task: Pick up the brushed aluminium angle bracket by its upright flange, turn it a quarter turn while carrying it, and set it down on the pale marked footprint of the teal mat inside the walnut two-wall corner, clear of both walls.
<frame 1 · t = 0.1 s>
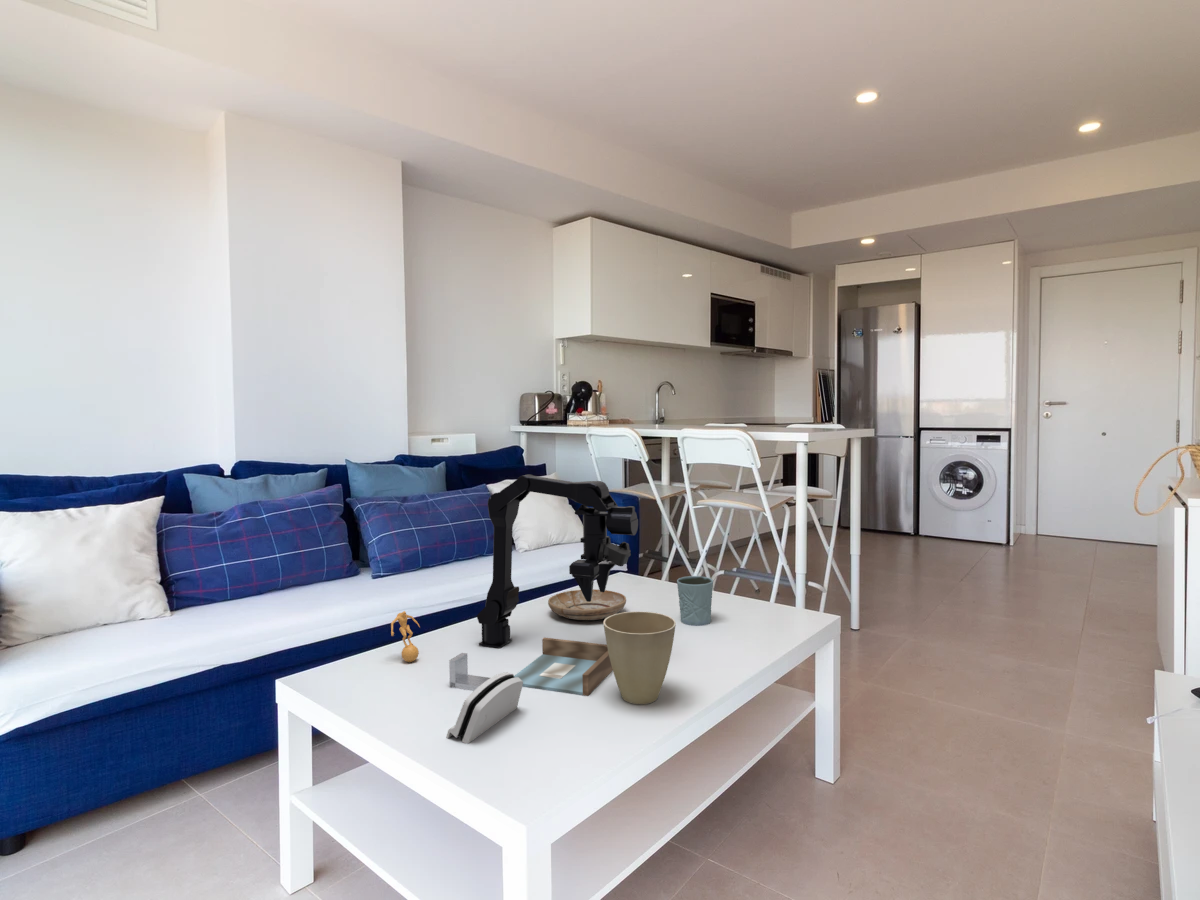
hand: (595, 596, 162), 15 cm above the table, tool pointing down, fingers open, 9 cm apart
ceramic bowl: (587, 615, 198), on the table
aluminium bracket: (471, 685, 145), on the table
plant pot: (640, 698, 137), on the table
figurine: (407, 661, 161), on the table
corner arena: (561, 674, 150), on the table
embossed green cup: (695, 622, 189), on the table
grey arched casing: (489, 725, 126), on the table
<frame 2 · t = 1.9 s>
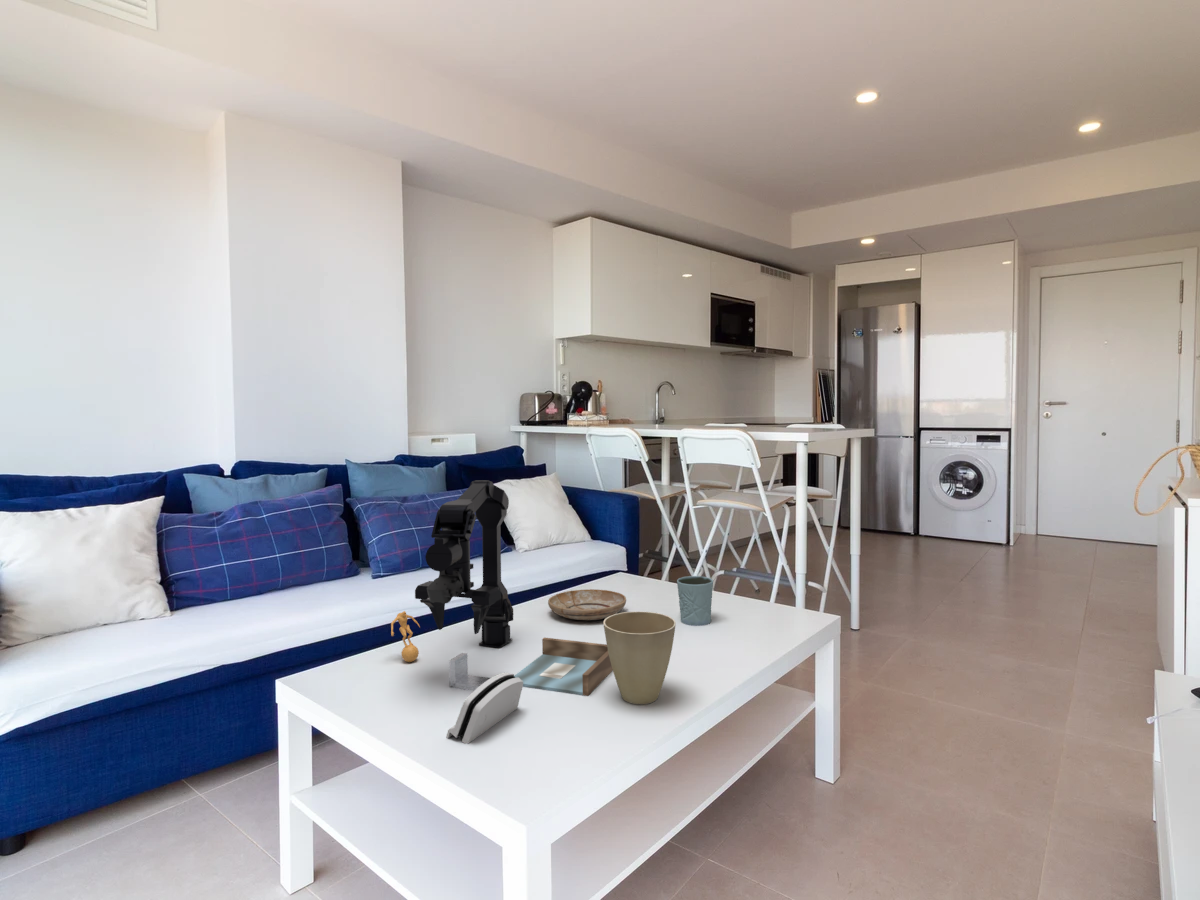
hand: (458, 631, 146), 12 cm above the table, tool pointing down, fingers open, 9 cm apart
nothing on the table moved.
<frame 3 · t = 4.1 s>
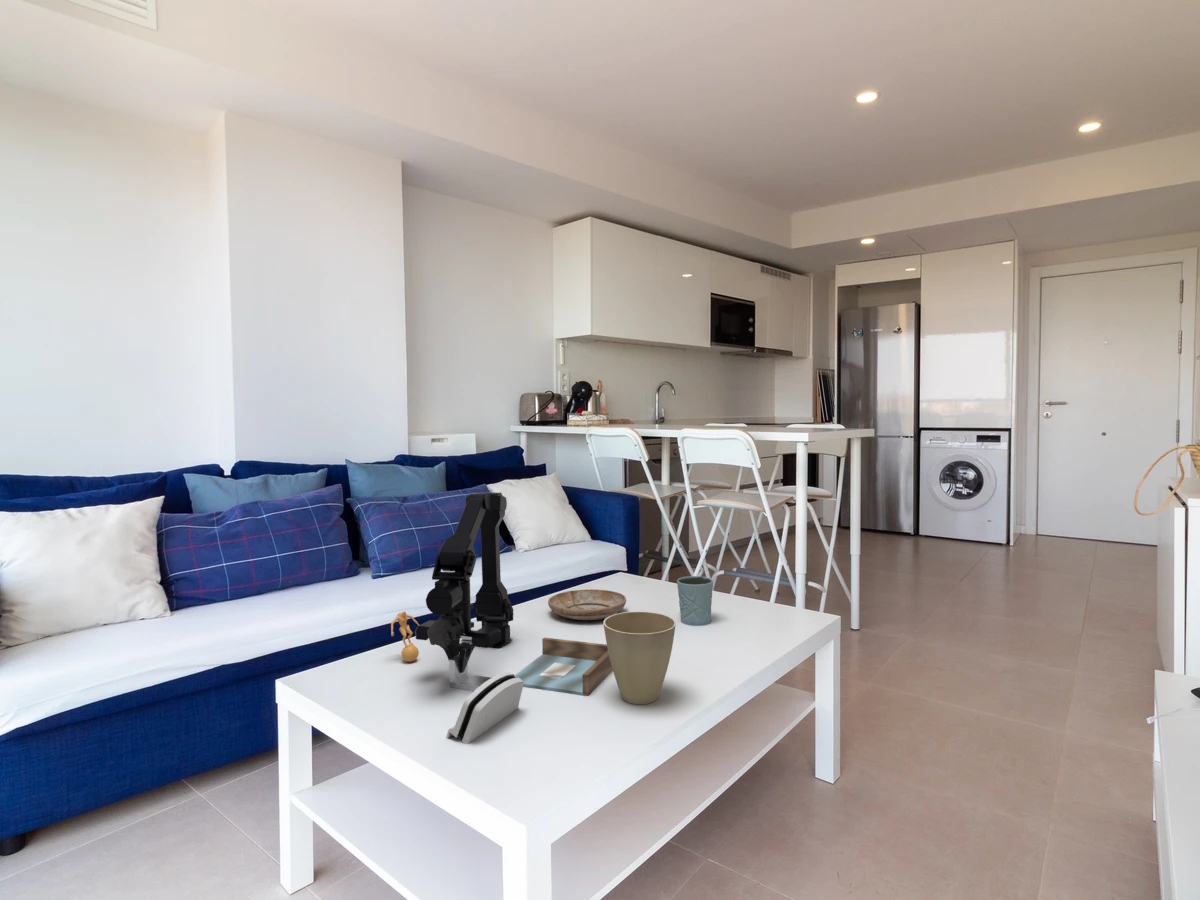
hand: (458, 671, 146), 3 cm above the table, tool pointing down, fingers closed on aluminium bracket
aluminium bracket: (471, 685, 145), on the table, touching gripper
everything else where it was.
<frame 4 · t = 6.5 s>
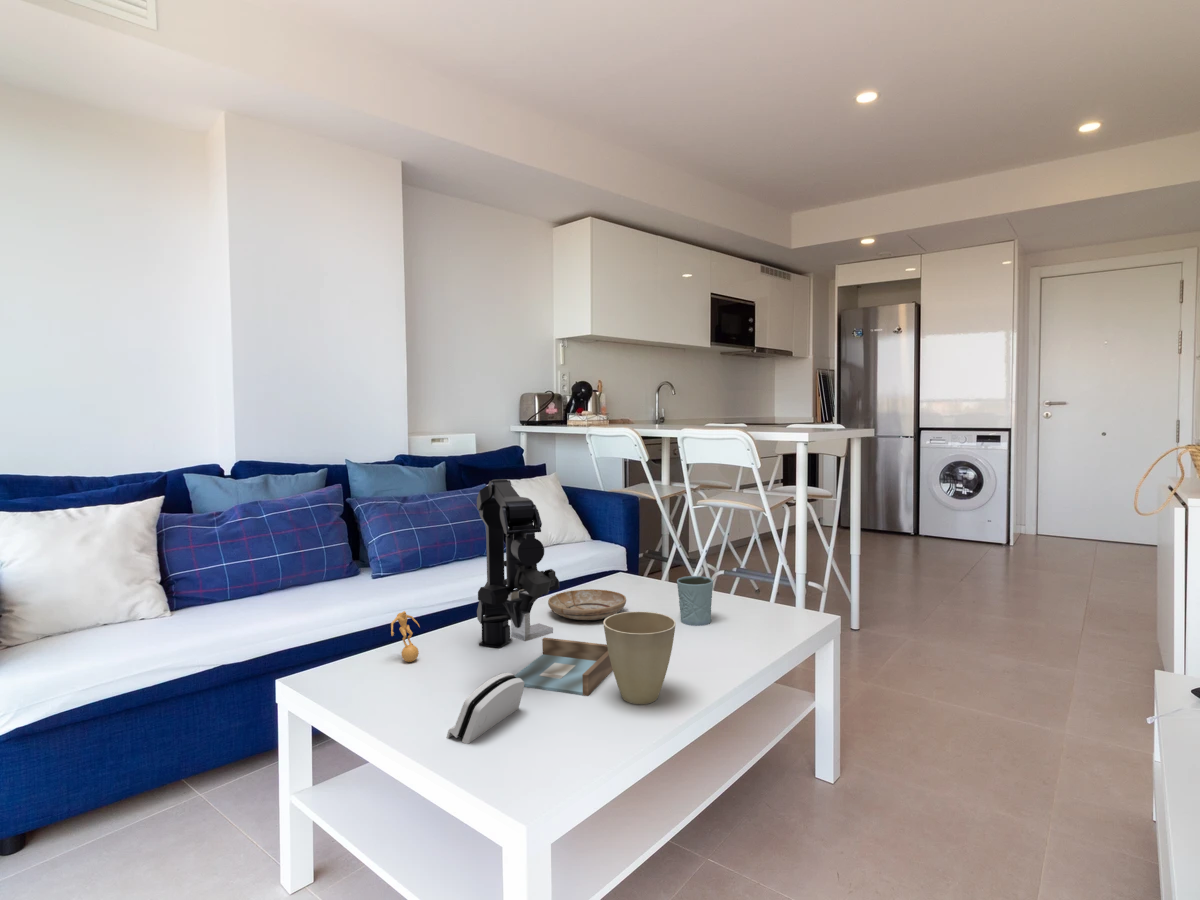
hand: (520, 626, 147), 12 cm above the table, tool pointing down, fingers closed on aluminium bracket
aluminium bracket: (532, 634, 149), point 10 cm above the table, touching gripper
everything else where it was.
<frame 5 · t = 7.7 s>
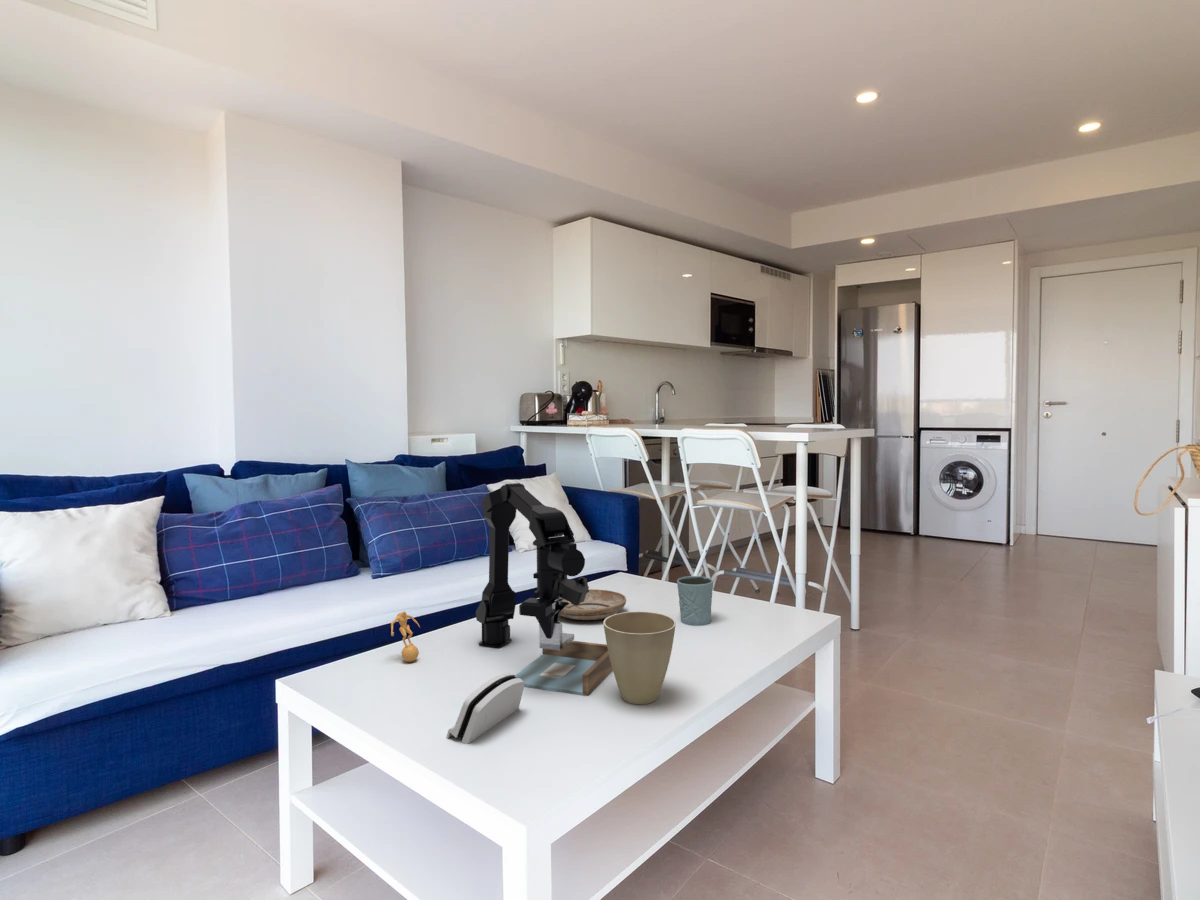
hand: (550, 637, 148), 9 cm above the table, tool pointing down, fingers closed on aluminium bracket
aluminium bracket: (557, 643, 151), point 7 cm above the table, touching gripper
everything else where it was.
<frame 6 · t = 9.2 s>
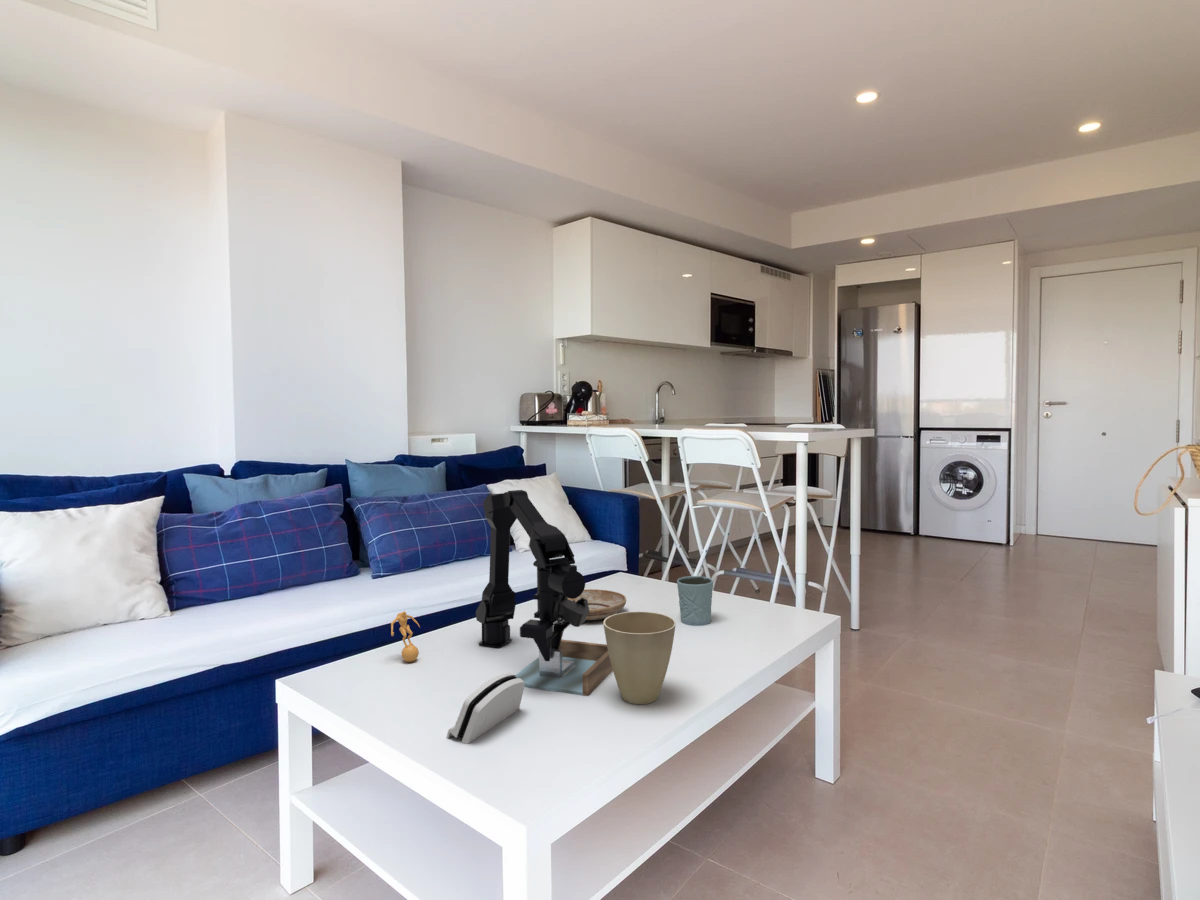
hand: (551, 658, 148), 5 cm above the table, tool pointing down, fingers open, 4 cm apart
aluminium bracket: (557, 670, 151), point 1 cm above the table, touching corner arena
everything else where it was.
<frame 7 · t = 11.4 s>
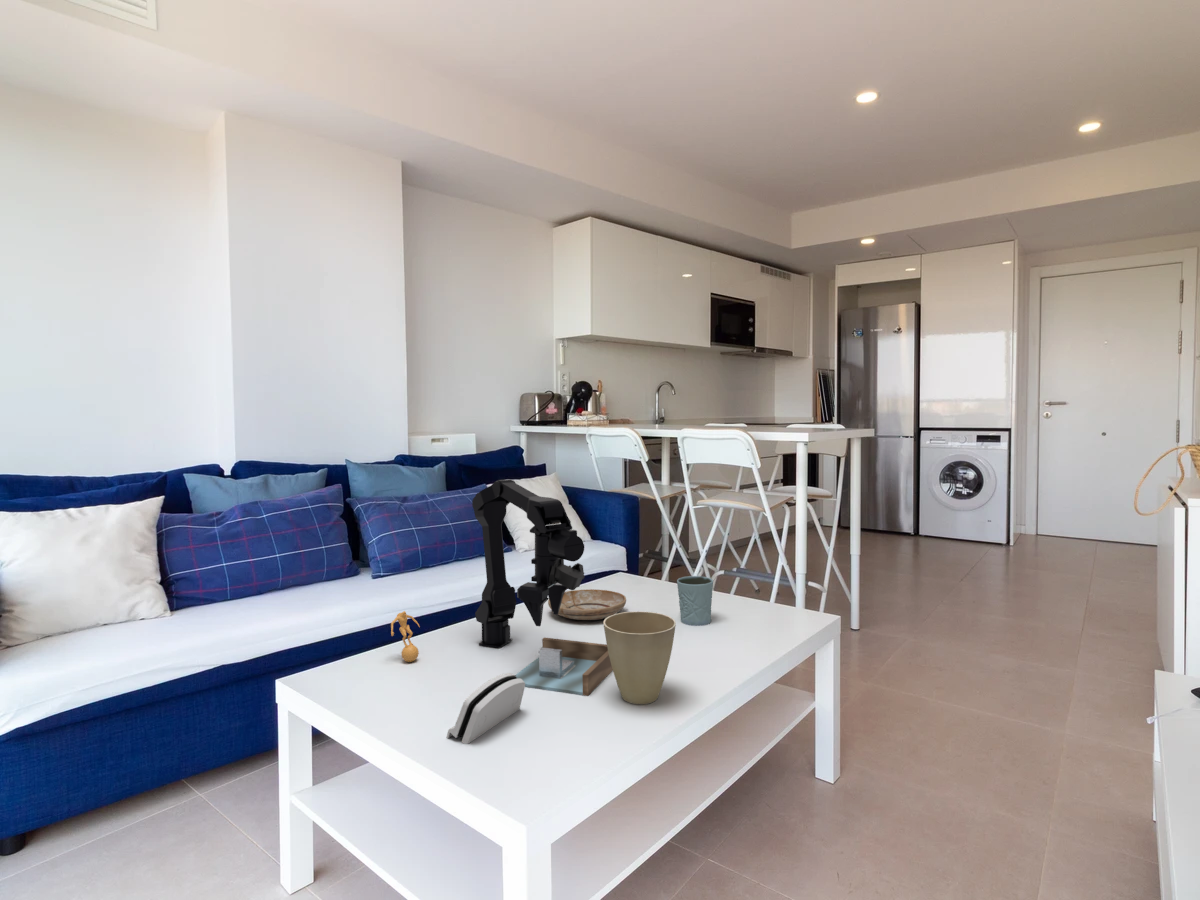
hand: (547, 620, 154), 11 cm above the table, tool pointing down, fingers open, 9 cm apart
nothing on the table moved.
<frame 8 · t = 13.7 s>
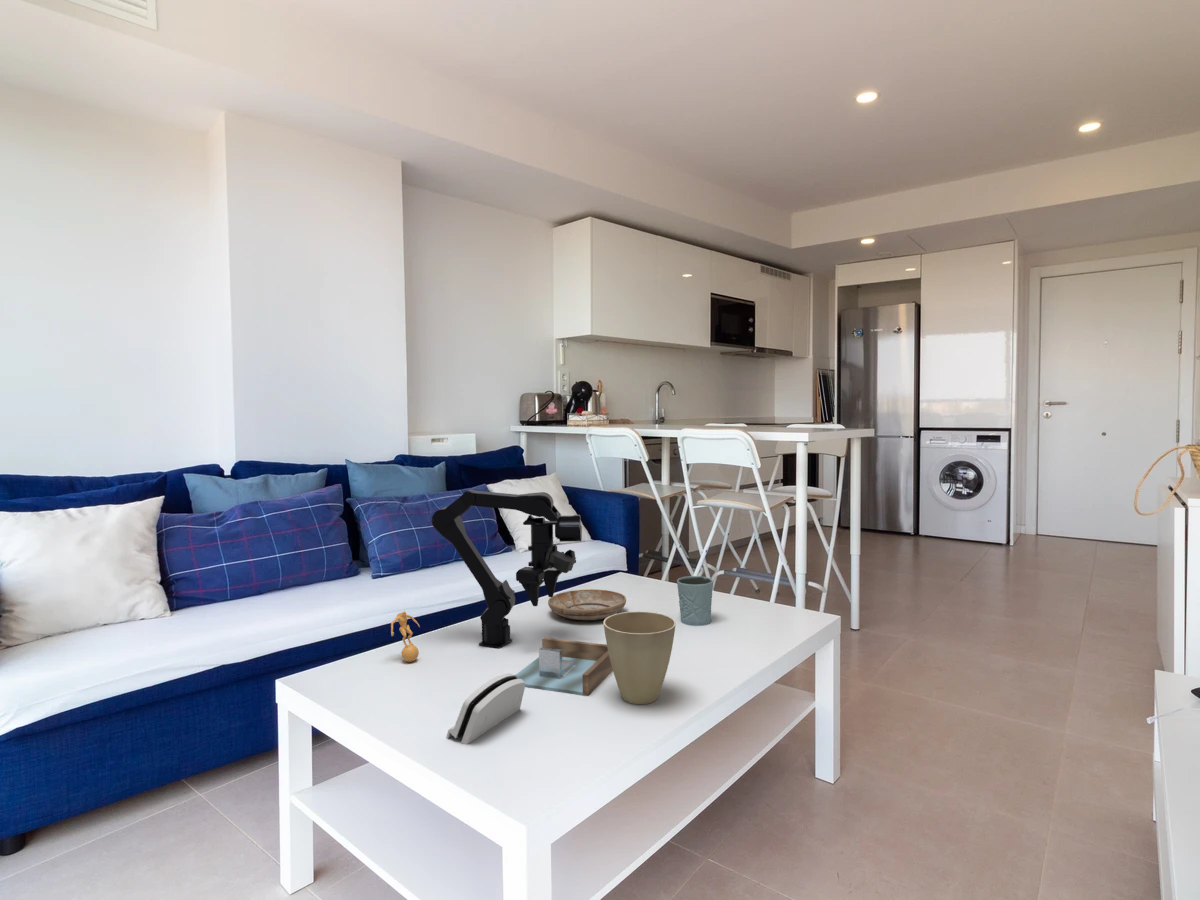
hand: (543, 601, 171), 11 cm above the table, tool pointing down, fingers open, 9 cm apart
nothing on the table moved.
at the end: aluminium bracket inside the target area on the corner arena (0.6 cm from its centre), point 0.7 cm above the corner arena's base; aluminium bracket tilted 0°; the gripper is holding nothing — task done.
